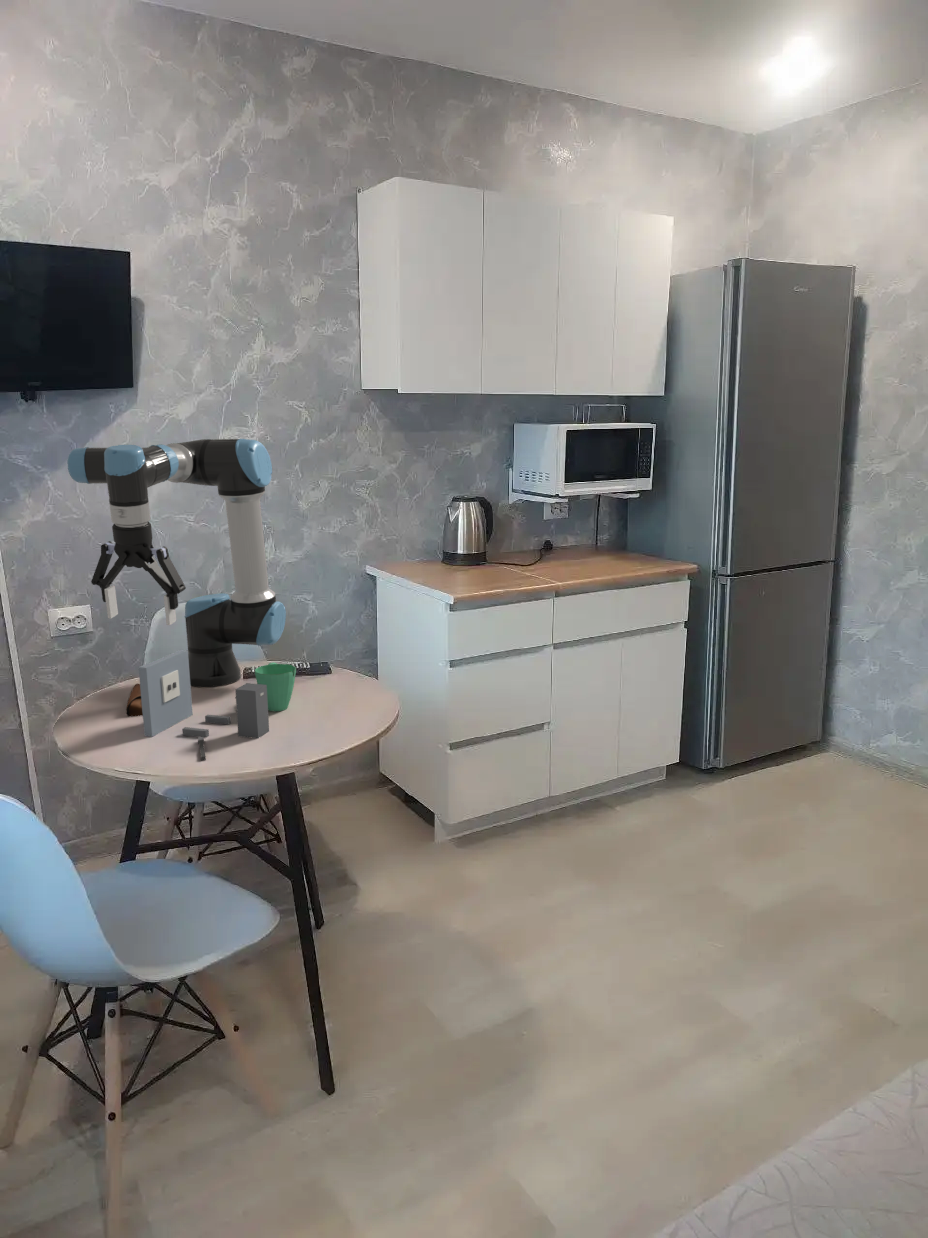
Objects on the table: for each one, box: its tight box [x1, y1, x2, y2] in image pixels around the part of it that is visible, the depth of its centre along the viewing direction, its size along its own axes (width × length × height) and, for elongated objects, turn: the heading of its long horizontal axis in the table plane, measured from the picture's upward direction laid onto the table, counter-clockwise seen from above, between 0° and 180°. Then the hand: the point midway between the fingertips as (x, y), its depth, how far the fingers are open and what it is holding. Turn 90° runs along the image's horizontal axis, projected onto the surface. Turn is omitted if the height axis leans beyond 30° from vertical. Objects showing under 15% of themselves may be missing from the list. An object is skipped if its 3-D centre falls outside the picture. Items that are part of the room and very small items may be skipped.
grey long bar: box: [197, 737, 207, 761], centre depth 194 cm, size 12×1×1 cm, turn 18°
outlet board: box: [138, 649, 232, 738], centre depth 207 cm, size 16×14×16 cm
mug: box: [254, 662, 297, 712], centre depth 224 cm, size 15×10×10 cm
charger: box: [234, 682, 270, 739], centre depth 204 cm, size 5×6×11 cm
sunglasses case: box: [125, 683, 143, 717], centre depth 226 cm, size 18×7×7 cm
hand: (142, 619), depth 193 cm, fingers open, 13 cm apart
